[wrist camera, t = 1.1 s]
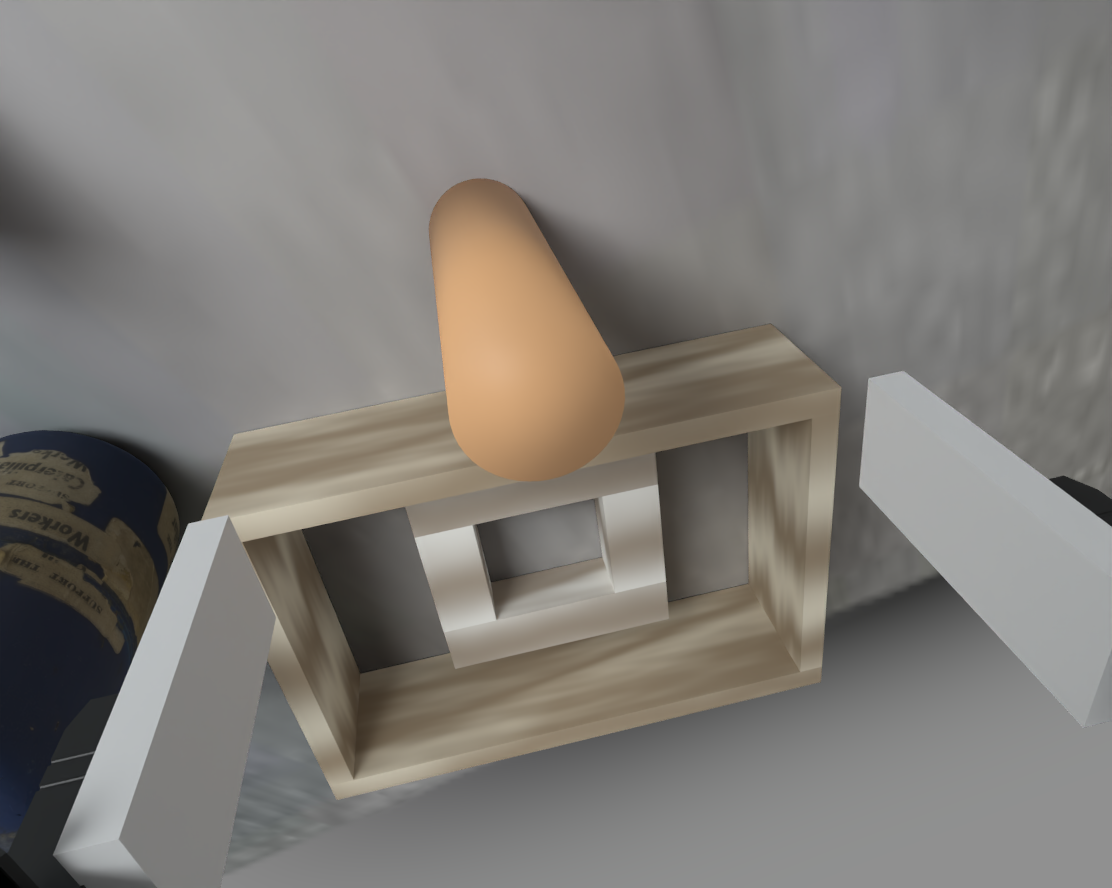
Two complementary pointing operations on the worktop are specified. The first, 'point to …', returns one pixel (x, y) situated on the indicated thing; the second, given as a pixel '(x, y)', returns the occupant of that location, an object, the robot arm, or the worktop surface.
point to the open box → (551, 595)
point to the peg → (516, 341)
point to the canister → (70, 590)
